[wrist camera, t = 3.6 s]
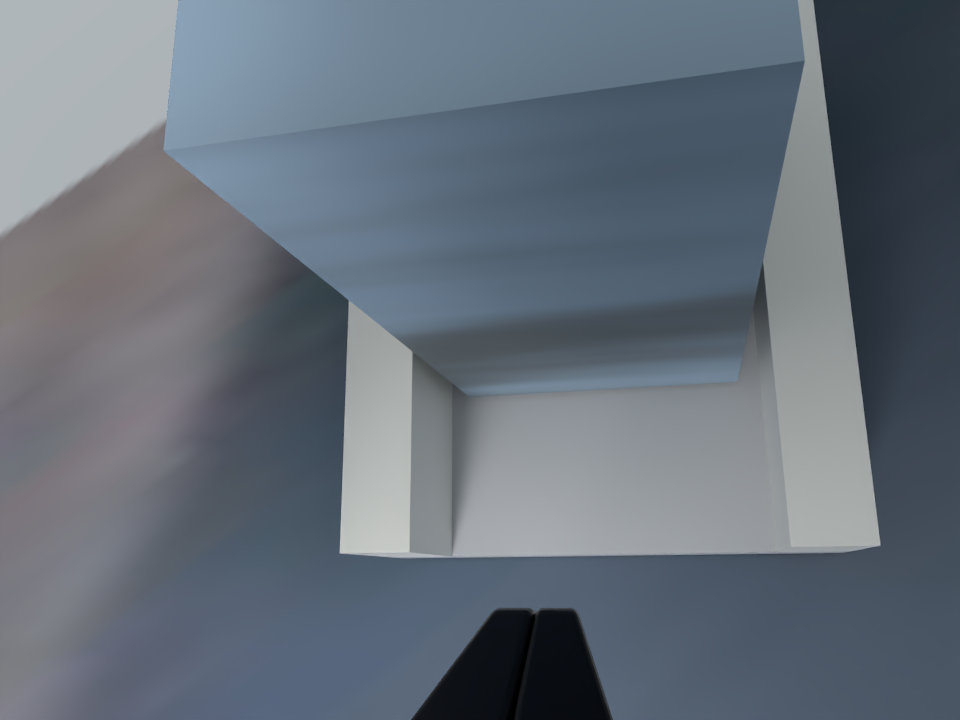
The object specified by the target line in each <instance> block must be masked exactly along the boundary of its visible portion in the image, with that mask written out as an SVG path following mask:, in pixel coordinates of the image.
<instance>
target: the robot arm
mask: <svg viewBox="0 0 960 720" xmlns="http://www.w3.org/2000/svg"><path fill="white" fill-rule="evenodd" d="M411 720H613V718H612V715H611V712H610V709H609V706H608V703H607V700H606V697H605V694H604V691H603V688H602V685H601V682H600V678H599V675H598V672H597V669H596V666H595V663H594V660H593V657H592V654H591V651H590V648H589V645H588V642H587V638H586V635H585V632H584V629H583V626H582V623H581V620H580V617H579V615H578V612H577V611H576V610H575V609H573V608H541V609H539V610H538V611H537V613H535V611H534V610H532V609H530V608H498V609H496V610H495V611H493V612H492V613H491V614H490V616H489V617H488V618H487V619H486V621H485V622H484V623H483V625H482V626H481V627H480V629H479V630H478V631H477V633H476V634H475V635H474V637H473V638H472V639H471V641H470V642H469V643H468V645H467V646H466V647H465V649H464V650H463V651H462V653H461V654H460V655H459V657H458V658H457V659H456V661H455V662H454V663H453V665H452V666H451V667H450V669H449V670H448V671H447V673H446V674H445V675H444V677H443V678H442V679H441V681H440V682H439V683H438V685H437V686H436V687H435V689H434V690H433V691H432V693H431V694H430V695H429V697H428V698H427V699H426V701H425V702H424V703H423V705H422V706H421V707H420V709H419V710H418V711H417V713H416V714H415V715H414V717H413V718H412V719H411Z"/></svg>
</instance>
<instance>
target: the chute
mask: <svg viewBox="0 0 960 720" xmlns="http://www.w3.org/2000/svg"><path fill="white" fill-rule="evenodd" d="M798 6H799V15H800V23H801V32H802V40H803V49H804V57H805V63H804V68H803V72H802V77H801V82H800V87H799V91H798V96H797V101H796V106H795V110H794V115H793V120H792V125H791V129H790V134H789V139H788V144H787V148H786V153H785V158H784V163H783V167H782V172H781V177H780V182H779V186H778V191H777V196H776V201H775V205H774V210H773V215H772V220H771V225H770V229H769V234H768V239H767V244H766V248H765V253H764V258H763V263H762V267H761V272H760V277H759V282H758V286H757V291H756V296H755V301H754V305H753V310H752V315H751V320H750V324H749V329H748V334H747V339H746V343H745V348H744V353H743V358H742V362H741V367H740V372H739V377H738V381H737V382H726V383H709V384H691V385H674V386H657V387H640V388H622V389H605V390H588V391H571V392H553V393H536V394H519V395H501V396H484V397H468V396H467V395H466V394H465V393H463V392H462V391H461V390H460V389H458V388H457V387H456V386H455V385H453V384H452V383H451V382H450V381H448V380H447V379H446V378H445V377H443V376H442V375H441V374H440V373H438V372H437V371H436V370H435V369H434V368H432V367H431V366H430V365H429V364H427V363H426V362H425V361H424V360H422V359H421V358H420V357H419V356H417V355H416V354H415V353H414V352H412V351H411V350H410V349H409V348H407V347H406V346H405V345H404V344H403V343H401V342H400V341H399V340H398V339H396V338H395V337H394V336H393V335H391V334H390V333H389V332H388V331H386V330H385V329H384V328H383V327H381V326H380V325H379V324H378V323H376V322H375V321H374V320H373V319H372V318H370V317H369V316H368V315H367V314H365V313H364V312H363V311H362V310H360V309H359V308H358V307H357V306H355V305H354V304H353V303H352V302H350V301H349V312H348V339H347V367H346V395H345V423H344V450H343V478H342V506H341V534H340V553H342V554H355V555H369V556H382V557H396V558H463V557H544V556H625V555H705V554H786V553H844V552H849V551H855V550H860V549H866V548H871V547H876V546H881V545H880V537H879V529H878V521H877V513H876V505H875V497H874V489H873V480H872V472H871V464H870V456H869V448H868V440H867V432H866V424H865V416H864V408H863V400H862V391H861V383H860V375H859V367H858V359H857V351H856V343H855V335H854V327H853V319H852V311H851V302H850V294H849V286H848V278H847V270H846V262H845V254H844V246H843V238H842V230H841V222H840V213H839V205H838V197H837V189H836V181H835V173H834V165H833V157H832V149H831V141H830V133H829V124H828V116H827V108H826V100H825V92H824V84H823V76H822V68H821V60H820V52H819V44H818V35H817V27H816V19H815V11H814V3H813V0H798Z"/></svg>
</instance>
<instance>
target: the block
mask: <svg viewBox="0 0 960 720" xmlns="http://www.w3.org/2000/svg"><path fill="white" fill-rule="evenodd" d="M804 63H805V57H804V49H803V40H802V32H801V23H800V15H799V6H798V0H178V9H177V20H176V30H175V40H174V49H173V60H172V70H171V80H170V90H169V100H168V110H167V120H166V130H165V140H164V150H163V151H164V152H166V153H167V154H168V155H169V156H171V157H172V158H173V159H174V160H176V161H177V162H178V163H179V164H181V165H182V166H183V167H184V168H185V169H187V170H188V171H189V172H190V173H192V174H193V175H194V176H195V177H197V178H198V179H199V180H200V181H202V182H203V183H204V184H205V185H207V186H208V187H209V188H210V189H212V190H213V191H214V192H215V193H216V194H218V195H219V196H220V197H221V198H223V199H224V200H225V201H226V202H228V203H229V204H230V205H231V206H233V207H234V208H235V209H236V210H238V211H239V212H240V213H241V214H243V215H244V216H245V217H246V218H247V219H249V220H250V221H251V222H252V223H254V224H255V225H256V226H257V227H259V228H260V229H261V230H262V231H264V232H265V233H266V234H267V235H269V236H270V237H271V238H272V239H274V240H275V241H276V242H277V243H278V244H280V245H281V246H282V247H283V248H285V249H286V250H287V251H288V252H290V253H291V254H292V255H293V256H295V257H296V258H297V259H298V260H300V261H301V262H302V263H303V264H305V265H306V266H307V267H308V268H309V269H311V270H312V271H313V272H314V273H316V274H317V275H318V276H319V277H321V278H322V279H323V280H324V281H326V282H327V283H328V284H329V285H331V286H332V287H333V288H334V289H336V290H337V291H338V292H339V293H341V294H342V295H343V296H344V297H345V298H347V299H348V300H349V301H350V302H352V303H353V304H354V305H355V306H357V307H358V308H359V309H360V310H362V311H363V312H364V313H365V314H367V315H368V316H369V317H370V318H372V319H373V320H374V321H375V322H376V323H378V324H379V325H380V326H381V327H383V328H384V329H385V330H386V331H388V332H389V333H390V334H391V335H393V336H394V337H395V338H396V339H398V340H399V341H400V342H401V343H403V344H404V345H405V346H406V347H407V348H409V349H410V350H411V351H412V352H414V353H415V354H416V355H417V356H419V357H420V358H421V359H422V360H424V361H425V362H426V363H427V364H429V365H430V366H431V367H432V368H434V369H435V370H436V371H437V372H438V373H440V374H441V375H442V376H443V377H445V378H446V379H447V380H448V381H450V382H451V383H452V384H453V385H455V386H456V387H457V388H458V389H460V390H461V391H462V392H463V393H465V394H466V395H467V396H468V397H484V396H501V395H519V394H536V393H553V392H571V391H588V390H605V389H622V388H640V387H657V386H674V385H691V384H709V383H726V382H737V381H738V377H739V372H740V367H741V362H742V358H743V353H744V348H745V343H746V339H747V334H748V329H749V324H750V320H751V315H752V310H753V305H754V301H755V296H756V291H757V286H758V282H759V277H760V272H761V267H762V263H763V258H764V253H765V248H766V244H767V239H768V234H769V229H770V225H771V220H772V215H773V210H774V205H775V201H776V196H777V191H778V186H779V182H780V177H781V172H782V167H783V163H784V158H785V153H786V148H787V144H788V139H789V134H790V129H791V125H792V120H793V115H794V110H795V106H796V101H797V96H798V91H799V87H800V82H801V77H802V72H803V68H804Z"/></svg>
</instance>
